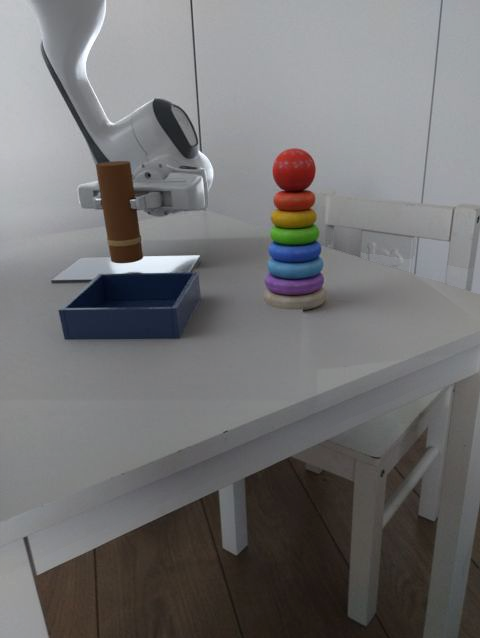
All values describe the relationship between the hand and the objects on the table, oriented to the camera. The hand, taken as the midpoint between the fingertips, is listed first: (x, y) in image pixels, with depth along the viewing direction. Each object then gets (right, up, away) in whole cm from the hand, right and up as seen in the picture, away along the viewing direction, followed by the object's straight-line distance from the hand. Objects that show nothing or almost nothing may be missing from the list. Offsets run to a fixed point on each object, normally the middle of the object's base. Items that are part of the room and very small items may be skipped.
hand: (115, 204), depth 83 cm
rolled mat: (+1, -7, +4) cm, 8 cm away
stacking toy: (+26, -15, -9) cm, 31 cm away
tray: (+6, -18, -13) cm, 23 cm away
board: (+1, -9, +6) cm, 11 cm away
